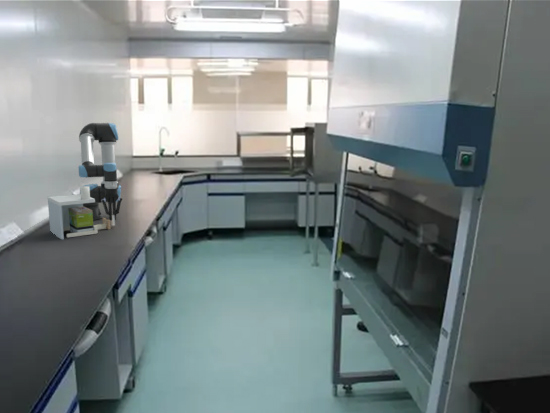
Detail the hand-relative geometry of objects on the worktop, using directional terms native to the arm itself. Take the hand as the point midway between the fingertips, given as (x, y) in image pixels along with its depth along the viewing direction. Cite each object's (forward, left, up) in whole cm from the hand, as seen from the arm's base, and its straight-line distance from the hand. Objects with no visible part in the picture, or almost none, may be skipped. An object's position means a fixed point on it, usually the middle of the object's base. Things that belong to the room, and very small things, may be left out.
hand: (113, 225), depth 318 cm
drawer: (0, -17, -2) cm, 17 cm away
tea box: (+1, -20, -2) cm, 20 cm away
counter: (0, -24, -2) cm, 24 cm away
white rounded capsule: (+8, -18, +20) cm, 28 cm away
